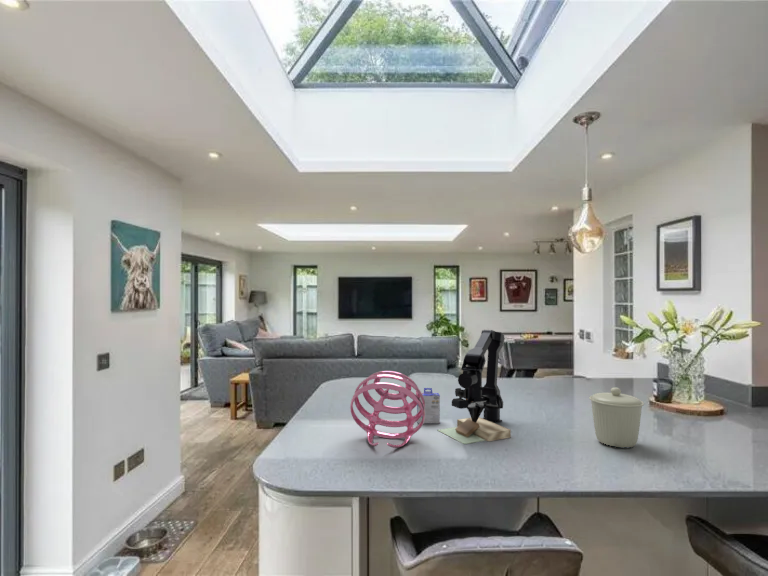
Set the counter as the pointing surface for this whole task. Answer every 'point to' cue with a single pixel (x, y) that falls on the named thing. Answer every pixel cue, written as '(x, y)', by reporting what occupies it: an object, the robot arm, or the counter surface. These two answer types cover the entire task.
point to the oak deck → (488, 430)
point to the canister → (616, 418)
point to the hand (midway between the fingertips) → (474, 423)
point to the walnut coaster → (467, 428)
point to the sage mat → (461, 436)
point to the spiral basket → (381, 407)
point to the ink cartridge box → (430, 407)
